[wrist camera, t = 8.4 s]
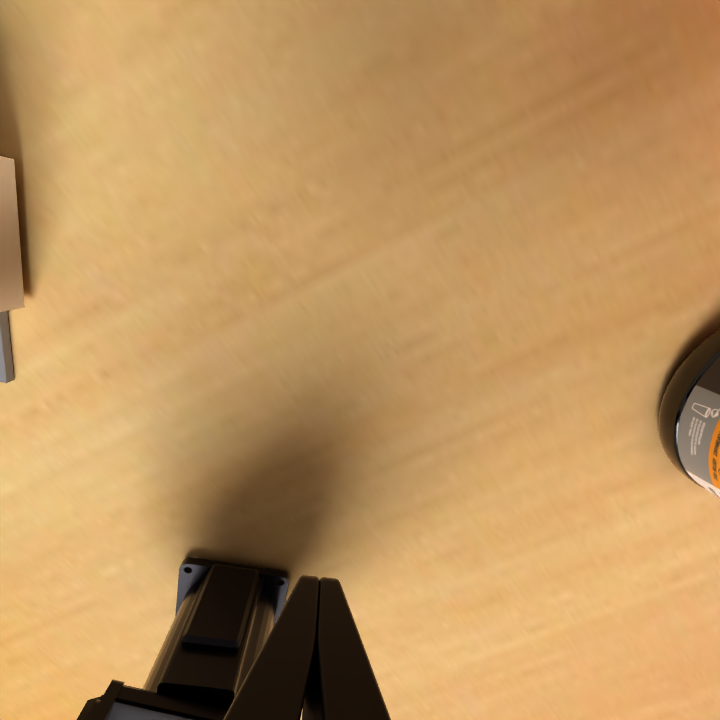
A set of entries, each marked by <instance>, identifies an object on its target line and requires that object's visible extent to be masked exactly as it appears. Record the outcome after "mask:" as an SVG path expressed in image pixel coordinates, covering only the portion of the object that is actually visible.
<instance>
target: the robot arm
mask: <svg viewBox="0 0 720 720" xmlns="http://www.w3.org/2000/svg"><path fill="white" fill-rule="evenodd" d="M289 579H290V575H289V574H288V573H287V572H285V571H281V570H274V569H266V568H259V567H252V566H245V565H237V564H230V563H223V562H216V561H209V560H201V559H194V558H187V559H185V560H184V561H183V562H182V564H181V566H180V569H179V580H178V592H177V604H176V617H175V619H174V621H173V623H172V626H171V628H170V630H169V632H168V634H167V637H166V639H165V641H164V643H163V645H162V648H161V650H160V652H159V654H158V656H157V658H156V661H155V663H154V665H153V667H152V669H151V672H150V674H149V676H148V678H147V680H146V682H145V685H144V687H143V689H139V688H135V687H131V686H126V685H124V682H122V681H117V680H112V681H111V683H110V685H109V687H108V688H107V690H106V692H105V694H104V695H102V696H101V697H97V698H94V699H90V700H88V701H87V703H86V704H85V706H84V708H83V710H82V711H81V713H80V715H79V717H78V718H77V720H300V717H301V713H302V720H391V718H390V716H389V713H388V710H387V708H386V705H385V702H384V700H383V697H382V694H381V692H380V689H379V686H378V683H377V681H376V678H375V675H374V673H373V670H372V667H371V665H370V662H369V659H368V656H367V654H366V651H365V648H364V646H363V643H362V640H361V638H360V635H359V632H358V629H357V627H356V624H355V621H354V619H353V616H352V613H351V611H350V608H349V605H348V603H347V600H346V597H345V594H344V592H343V589H342V586H341V584H340V582H339V580H338V579H334V578H325V577H323V578H321V579H320V581H319V578H318V577H316V576H307V575H302V576H301V577H300V578H299V580H298V582H297V583H296V585H295V587H294V589H293V591H292V593H291V595H290V596H289V598H288V600H287V602H286V604H285V606H284V603H285V598H286V593H287V589H288V584H289ZM283 607H284V608H283ZM302 708H303V712H302Z"/></svg>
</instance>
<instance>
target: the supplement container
mask: <svg viewBox="0 0 720 720" xmlns="http://www.w3.org/2000/svg"><path fill="white" fill-rule="evenodd" d="M658 427H659V435H660V440H661V443H662V446H663V449H664V451H665V453H666V455H667V456H668V458H669V459H670V461H671V462H672V463H673V465H674V466H675V467H676V468H677V469H678V470H679V471H680V472H681V473H682V474H683V475H685V476H686V477H687V478H688V479H690V480H691V481H693V482H694V483H695V484H697V485H699V486H701V487H702V488H705V489H707V490H708V491H710V492H711V493H712V494H714V495H715V496H717V497H718V498H720V329H719V330H717V331H716V332H715V333H713V334H712V335H710V336H709V337H708V338H707V339H705V340H704V341H703V342H702V343H701V344H700V345H699V346H698V347H696V348H695V349H694V350H693V351H692V352H691V353H690V355H689V356H688V357H687V358H686V359H685V360H684V361H683V363H682V364H681V365H680V367H679V368H678V369H677V371H676V372H675V374H674V375H673V377H672V379H671V381H670V382H669V384H668V386H667V389H666V391H665V393H664V396H663V399H662V402H661V406H660V411H659V419H658Z"/></svg>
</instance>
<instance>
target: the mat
mask: <svg viewBox="0 0 720 720" xmlns="http://www.w3.org/2000/svg"><path fill="white" fill-rule="evenodd" d="M12 380H14V373H13V363H12V353H11V343H10V333H9V323H8V313H7V311H4V312H0V382H4V383H8V382H10V381H12Z"/></svg>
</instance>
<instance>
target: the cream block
mask: <svg viewBox="0 0 720 720" xmlns="http://www.w3.org/2000/svg"><path fill="white" fill-rule="evenodd" d="M23 307H25V306H24V292H23V278H22V264H21V250H20V236H19V222H18V208H17V194H16V180H15V166H14V159H11V158H7V157H3V156H0V312H4V311H8V310H13V309H18V308H23Z"/></svg>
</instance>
